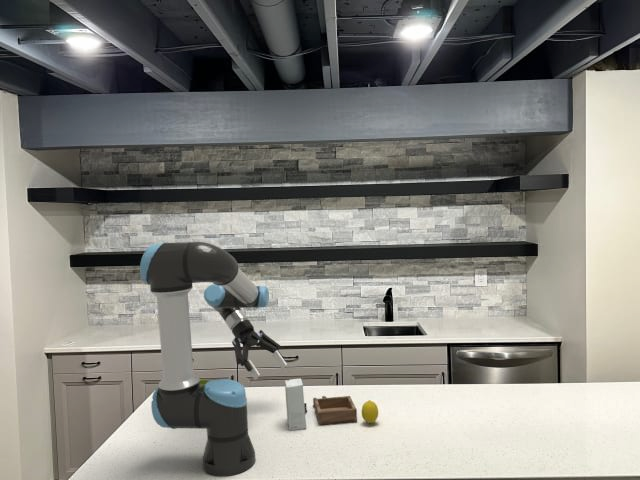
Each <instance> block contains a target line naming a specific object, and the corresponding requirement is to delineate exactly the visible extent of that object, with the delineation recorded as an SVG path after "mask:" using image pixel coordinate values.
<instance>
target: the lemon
mask: <svg viewBox="0 0 640 480" xmlns="http://www.w3.org/2000/svg"><path fill="white" fill-rule="evenodd" d="M361 416H362V417H361V418H362V419H363V420H364V421H365V422H366V423H368V424H369V425H371V424H373V423H374V422H376V420H377V419H378V417H379V408H378V406H377V404H376V403H375V402H374V401H372V400H369V399H368V401H365V402H364V403H363V404H362V408H361Z"/></svg>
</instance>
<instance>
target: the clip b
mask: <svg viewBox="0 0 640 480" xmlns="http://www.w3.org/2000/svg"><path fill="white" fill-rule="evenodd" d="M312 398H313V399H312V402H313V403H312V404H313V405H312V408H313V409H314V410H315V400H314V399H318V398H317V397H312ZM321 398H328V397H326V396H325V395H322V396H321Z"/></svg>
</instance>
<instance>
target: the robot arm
mask: <svg viewBox="0 0 640 480" xmlns="http://www.w3.org/2000/svg"><path fill="white" fill-rule="evenodd" d="M139 265H140V266H139V273H140V277H141V281H142V282H143V283H144V284H145V285H147V286H148V285H149V288H150V290H149V291H150V293H151V294H152V295H154V296H155V297H156V303H157V304H156V306H157V316H158V330H159V339H160V340H159V342H160V353H161V355H160V356H161V367H162V379H161V380H160V381H159V383H158V387H157V388H156V389H155V390H154V391H153V394H152V397H151V398H152V401H151V406H150V407H151V414H152V417H153V420H154V422H155V423H156V424H157V425H159V426H160V427H161V428H167V429H173V430H176V429H205V430H206V436H207V437H206V438H207V439H206V443H205V447H204V451H203V454H202V455H203V456H202V460H201V461H202V469H203V471H204V472H206V474H209V475H211V476H212V475H213V476H217V477H219V476H220V477H224V476H233V475H237V474H240V473H243V472H245V471H247V470H250V469H251V467H253V466H254V465H255V462H256V460H257V459H256V451H255V447H254V445H253V443H252V441H251V438H250V435H249V428H248V426H249V425H248V407H247V404H248V400H247V394H246V388H245V386H244V385H243V384H241V383H240V382H239V381H237V380H232V379H227V378H226V379H225V378H224V379H223V378H220V379H213V380H210V381H209V382H207V383H206V384H205V386H200V380H201V379H200V377H199V375H196V374H195V373H194V361H193V360H194V359H193V358H194V356H193V345H192V333H191V332H192V331H191V319H190V309H189V307H190V306H189V305H190V304H189V293H190V292H191V291H192V290H193V284H196V283H197V284H198V283H212V284H210V285H208V286H207V287H206V288H205V289H204V291H203V298H204V301H205V302H206V304H208V306H210V307H211V308H213V309H214V310H215V311H216V312H218V313H219V315H220V316H221V318H222V319H223V320H224V322H225V324H226V326H227V327H228V329H229V330H230V331H231V333H232V335H233V336H234V338H233V339H232V341H231V344H232V345H233V348H234V349H233V350H234V354H235V356H234V357H235V362H236V364H237V365H240V366H241V367H243V366H244V368H245V369H246V371H248V372H249V373H250V375H251V377H252V378H253V379H254V380H255V381H256V380H258V378H259V377H260V376H261V373H259V370H258V369H257V368H256V366H255V365H254V363H253V362H252V360H251V359H249V350H250V348H251V347H260V348H262V349H264V350H265V351H267V352H270V353H271V354H272V357H273V359H274V360H275V361H276V363H277V364H278V366H279V367H280V369H281V370H283V369H285V367H286V366H287V365H288V364H287V362H286V360H285V359H284V358H283V355H282V353H281V352H280V351H279V350H280V349H281V345H280V344H279V343H278V342H276V341H275V340H274V339H272V338H271V337H270V336H269V335H267V334H266V333H265V332H264V331H263V330H262V329H259V331H258V332H256V331H255V329H254V328H255V327H254V325H253V324H252V323H251V321H250V320H249V317H248V316H247V315H246V313H245V312H244V311H243V310H242V309H243V308H244V309H245V308H246V309H253V308H256V309H259V308H265V307H268V304H269V302H270V292H269V289H268V287H267V286H265V285H264V286H263V285H256V284H255V283H254V282H253V281H252V280H251V279H250V278H249V277H248V276H247V275H246V274H245V273H244V272H243V271H242V270H241V268H240V267H239V264H238V260H236V258H235V257H234V256H233V255H231V254H230V253H229V252H227V251H226V250H224V249H223V248H222V247H218V246H217V245H214V244H212V243H208V242H205V241H188V242H187V241H185V242H182V241H181V242H161V243H154V244H150V245H149V246H148V247H147V248H146V249H145V250H144V252H143V255H142V257H141V260H140V264H139ZM241 345H242V347H241ZM248 359H249V360H248Z"/></svg>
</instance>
